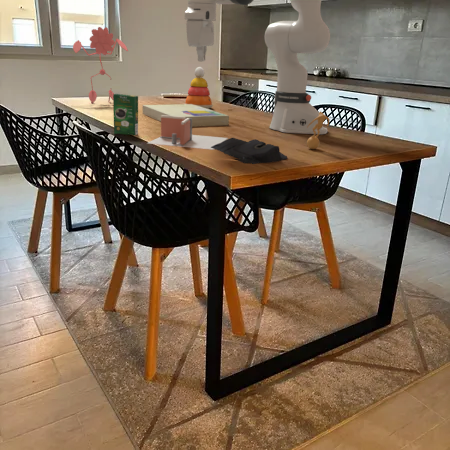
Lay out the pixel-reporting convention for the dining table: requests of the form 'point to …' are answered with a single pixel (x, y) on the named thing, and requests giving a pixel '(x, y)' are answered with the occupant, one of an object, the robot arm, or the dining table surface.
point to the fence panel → (185, 131)
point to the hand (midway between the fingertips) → (201, 61)
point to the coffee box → (125, 114)
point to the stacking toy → (199, 91)
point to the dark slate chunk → (250, 151)
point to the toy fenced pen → (196, 141)
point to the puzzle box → (187, 114)
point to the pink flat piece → (173, 125)
